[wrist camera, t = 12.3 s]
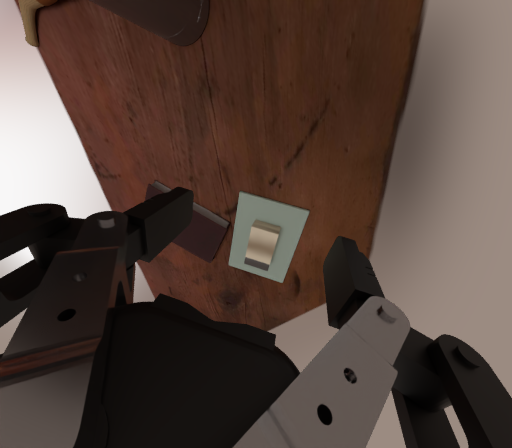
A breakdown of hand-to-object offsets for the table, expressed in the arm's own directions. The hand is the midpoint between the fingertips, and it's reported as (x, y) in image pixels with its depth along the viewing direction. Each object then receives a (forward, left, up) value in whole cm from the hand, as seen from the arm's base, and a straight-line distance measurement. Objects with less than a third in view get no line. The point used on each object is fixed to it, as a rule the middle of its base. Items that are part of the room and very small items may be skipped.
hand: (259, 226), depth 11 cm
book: (-20, -21, -27) cm, 40 cm away
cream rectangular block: (-1, -20, -26) cm, 32 cm away
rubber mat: (-1, -20, -26) cm, 33 cm away
